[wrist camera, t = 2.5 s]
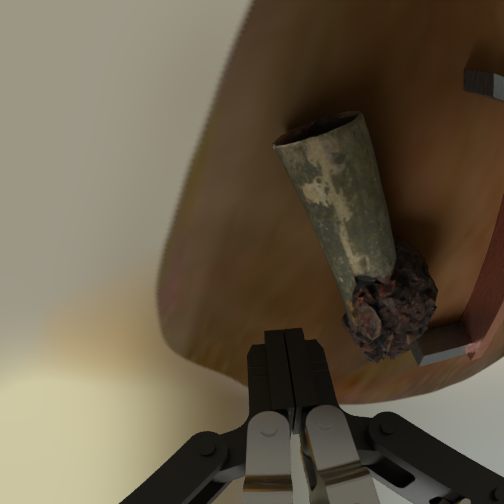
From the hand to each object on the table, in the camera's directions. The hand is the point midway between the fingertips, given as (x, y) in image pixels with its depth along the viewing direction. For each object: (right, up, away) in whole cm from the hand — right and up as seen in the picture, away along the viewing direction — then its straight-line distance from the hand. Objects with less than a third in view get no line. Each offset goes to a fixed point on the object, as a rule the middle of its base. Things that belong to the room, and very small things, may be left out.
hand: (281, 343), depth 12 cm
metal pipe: (+6, +5, +8) cm, 11 cm away
